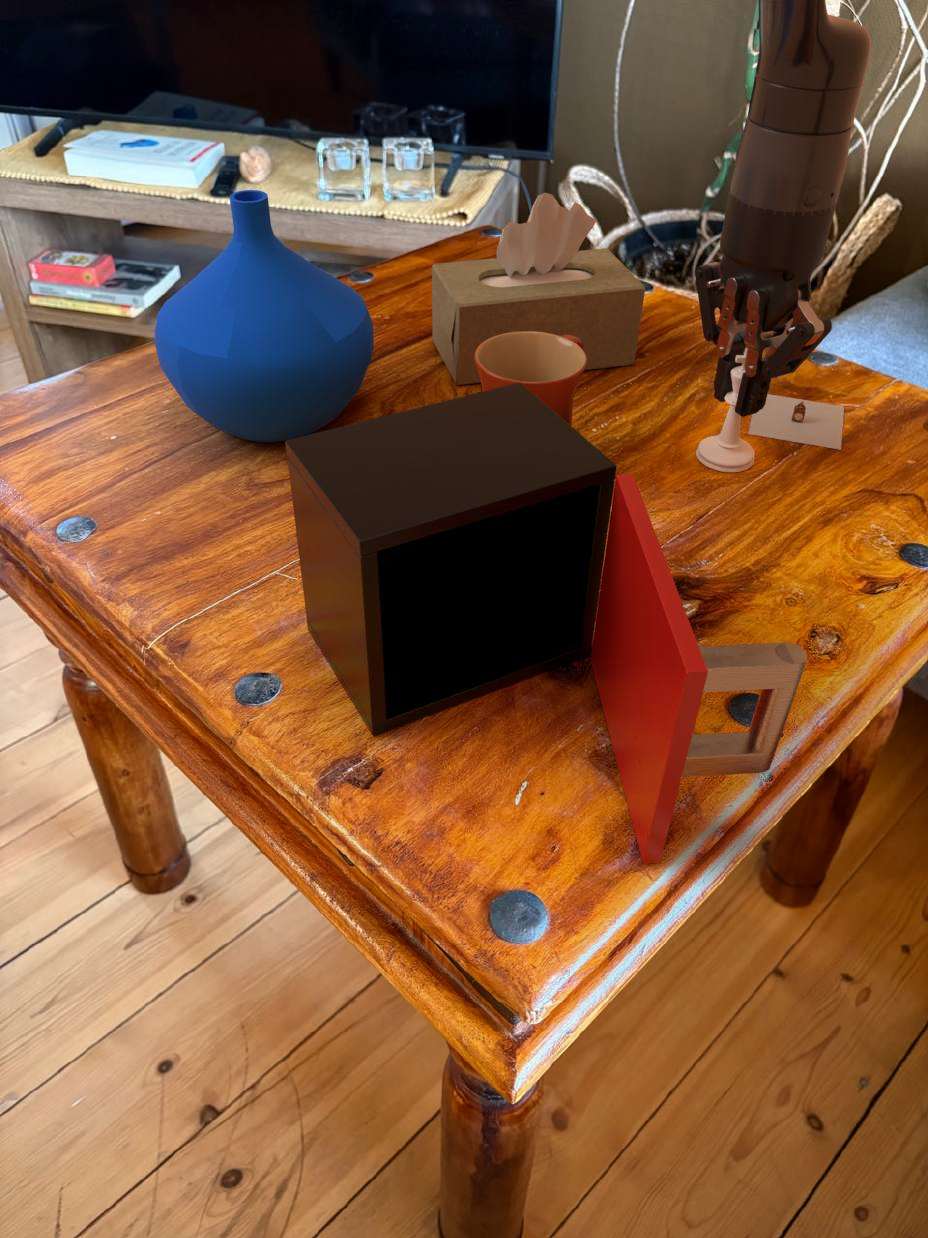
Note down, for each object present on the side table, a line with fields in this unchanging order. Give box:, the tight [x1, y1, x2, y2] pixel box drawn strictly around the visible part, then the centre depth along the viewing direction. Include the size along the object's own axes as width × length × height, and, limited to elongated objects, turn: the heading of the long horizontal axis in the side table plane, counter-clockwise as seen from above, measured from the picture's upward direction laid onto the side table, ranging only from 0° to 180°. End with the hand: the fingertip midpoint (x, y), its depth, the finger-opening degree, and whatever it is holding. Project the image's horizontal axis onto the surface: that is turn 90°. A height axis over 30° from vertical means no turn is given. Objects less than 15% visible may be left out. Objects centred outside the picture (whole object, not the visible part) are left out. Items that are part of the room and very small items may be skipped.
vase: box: [154, 189, 375, 443], centre depth 83 cm, size 18×18×19 cm
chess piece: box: [695, 348, 756, 473], centre depth 82 cm, size 5×5×10 cm
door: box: [590, 473, 808, 865], centre depth 55 cm, size 7×16×15 cm, turn 5°
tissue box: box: [431, 192, 646, 386], centre depth 94 cm, size 19×10×16 cm, turn 105°
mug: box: [474, 331, 587, 427], centre depth 81 cm, size 12×9×10 cm
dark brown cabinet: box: [284, 383, 618, 737], centre depth 62 cm, size 11×16×15 cm
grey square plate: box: [747, 393, 845, 451], centre depth 90 cm, size 8×8×2 cm
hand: (736, 404), depth 82 cm, fingers closed on chess piece
